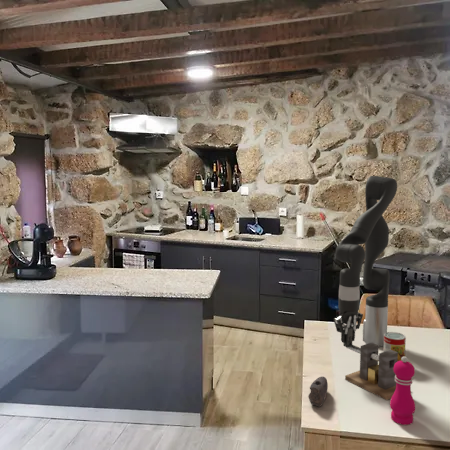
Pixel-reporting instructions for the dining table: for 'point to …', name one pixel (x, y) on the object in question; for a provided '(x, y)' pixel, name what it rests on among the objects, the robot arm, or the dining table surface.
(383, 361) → the shaft stand
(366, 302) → the robot arm
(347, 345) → the shaft
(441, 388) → the dining table surface
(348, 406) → the dining table surface
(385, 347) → the canned food
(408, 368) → the pepper mill
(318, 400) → the perforated stone tool
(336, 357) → the dining table surface
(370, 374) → the spacer
